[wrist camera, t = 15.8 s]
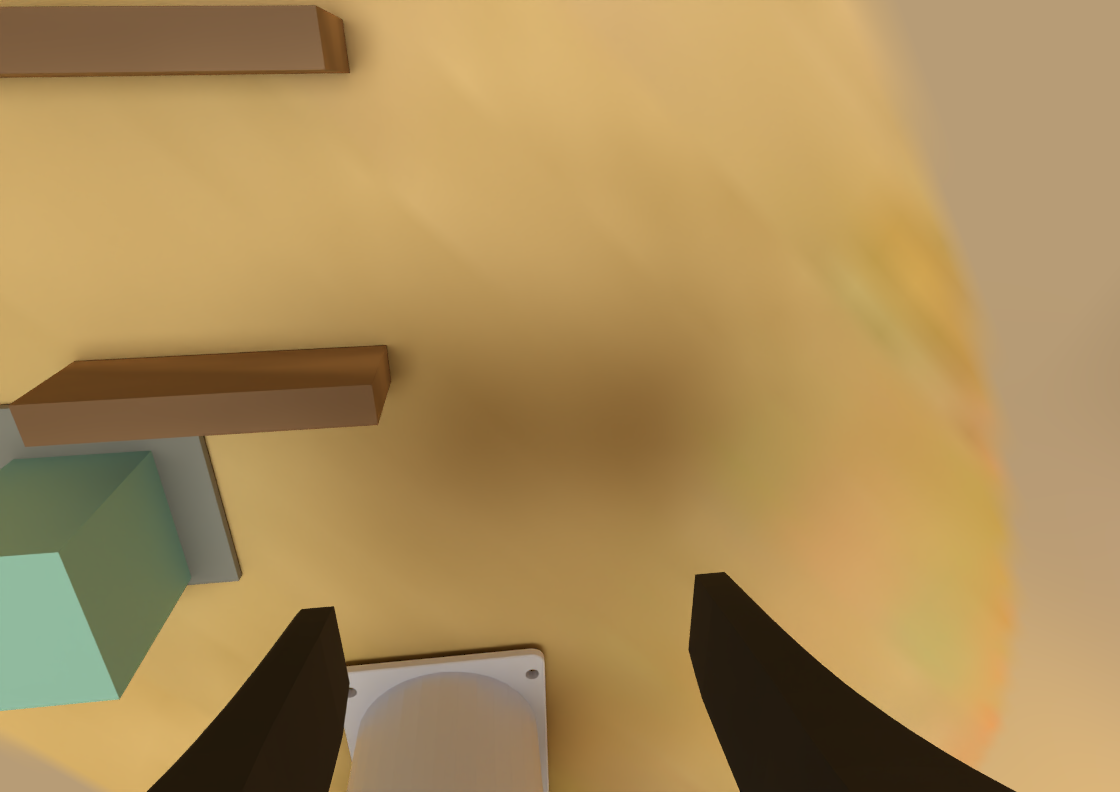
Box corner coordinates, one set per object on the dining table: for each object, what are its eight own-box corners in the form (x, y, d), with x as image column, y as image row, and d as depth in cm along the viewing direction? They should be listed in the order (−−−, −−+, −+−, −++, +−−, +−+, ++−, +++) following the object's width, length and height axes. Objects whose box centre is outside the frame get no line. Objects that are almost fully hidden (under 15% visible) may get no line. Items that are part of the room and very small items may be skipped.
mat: (241, 574, 23) (239, 580, 23) (28, 592, 22) (22, 598, 22) (191, 394, 20) (187, 398, 20) (-56, 408, 19) (-64, 412, 19)
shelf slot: (391, 381, 21) (377, 424, 18) (86, 398, 20) (25, 446, 17) (342, 19, 16) (315, 5, 14) (-46, 21, 16) (-155, 7, 13)
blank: (151, 450, 20) (58, 552, 16) (191, 577, 23) (119, 699, 18) (12, 459, 20) (-123, 566, 16) (67, 587, 22) (-38, 714, 18)
